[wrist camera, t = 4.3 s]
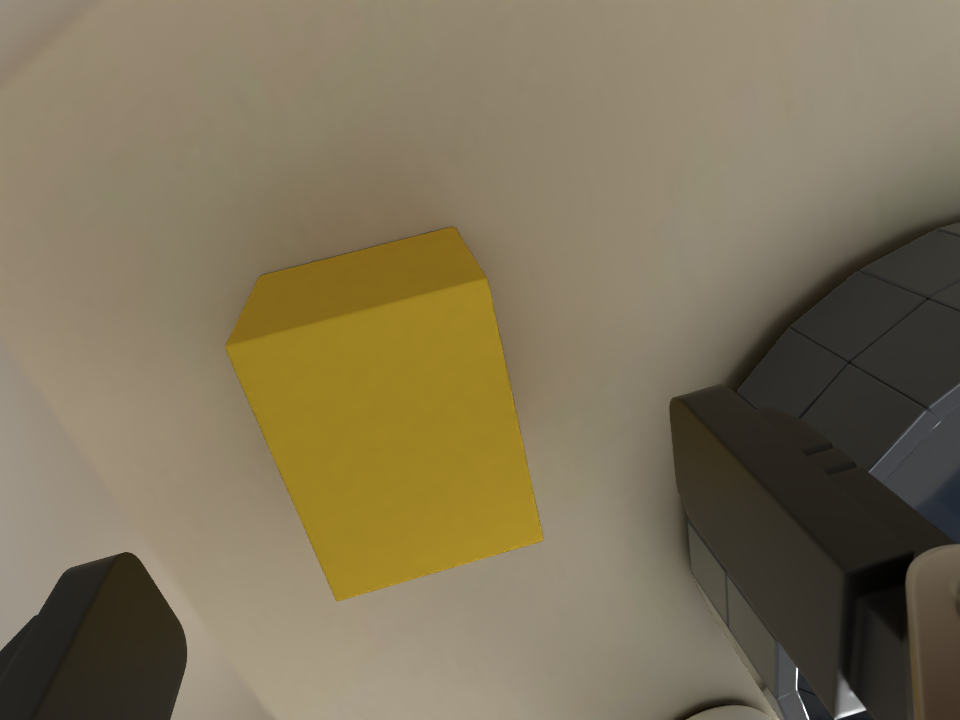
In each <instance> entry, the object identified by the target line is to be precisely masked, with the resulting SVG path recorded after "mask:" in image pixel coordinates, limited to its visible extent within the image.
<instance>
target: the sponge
mask: <svg viewBox="0 0 960 720" xmlns="http://www.w3.org/2000/svg"><path fill="white" fill-rule="evenodd" d="M225 349H226V352H227V354H228V356H229V358H230V361H231V363H232V365H233V367H234V370H235V372H236V374H237V377H238V379H239V381H240V383H241V386H242V388H243V390H244V392H245V395H246V397H247V399H248V402H249V404H250V406H251V408H252V411H253V413H254V415H255V417H256V420H257V422H258V424H259V427H260V429H261V431H262V433H263V436H264V438H265V440H266V442H267V445H268V447H269V449H270V452H271V454H272V456H273V458H274V461H275V463H276V465H277V467H278V470H279V472H280V474H281V476H282V479H283V481H284V483H285V486H286V488H287V490H288V492H289V495H290V497H291V499H292V501H293V504H294V506H295V508H296V511H297V513H298V515H299V517H300V520H301V522H302V524H303V526H304V529H305V531H306V533H307V536H308V538H309V540H310V542H311V545H312V547H313V549H314V551H315V554H316V556H317V558H318V561H319V563H320V565H321V567H322V570H323V572H324V574H325V576H326V579H327V581H328V583H329V586H330V588H331V590H332V592H333V595H334V597H335V599H336V601H340V600H344V599H347V598H351V597H354V596H357V595H361V594H364V593H368V592H371V591H374V590H378V589H381V588H385V587H388V586H391V585H395V584H398V583H402V582H405V581H408V580H412V579H415V578H419V577H422V576H426V575H429V574H432V573H436V572H439V571H443V570H446V569H449V568H453V567H456V566H460V565H463V564H466V563H470V562H473V561H477V560H480V559H483V558H487V557H490V556H494V555H497V554H500V553H504V552H507V551H511V550H514V549H517V548H521V547H524V546H528V545H531V544H535V543H538V542H541V541H543V534H542V530H541V525H540V520H539V516H538V511H537V506H536V502H535V497H534V492H533V488H532V483H531V478H530V474H529V469H528V464H527V460H526V455H525V451H524V446H523V441H522V437H521V432H520V427H519V423H518V418H517V413H516V409H515V404H514V399H513V395H512V390H511V385H510V381H509V376H508V371H507V367H506V362H505V357H504V353H503V348H502V344H501V339H500V334H499V330H498V325H497V320H496V316H495V311H494V306H493V302H492V297H491V292H490V288H489V283H488V279H487V277H486V276H485V274H484V273H483V271H482V270H481V268H480V266H479V265H478V263H477V262H476V260H475V258H474V257H473V255H472V254H471V252H470V250H469V249H468V247H467V246H466V244H465V242H464V241H463V239H462V238H461V236H460V234H459V233H458V231H457V230H456V228H455V227H449V228H445V229H441V230H438V231H434V232H430V233H426V234H422V235H418V236H414V237H410V238H406V239H402V240H398V241H394V242H391V243H387V244H383V245H379V246H375V247H371V248H367V249H363V250H359V251H355V252H351V253H347V254H344V255H340V256H336V257H332V258H328V259H324V260H320V261H316V262H312V263H308V264H304V265H300V266H297V267H293V268H289V269H285V270H281V271H277V272H273V273H269V274H265V275H261V276H259V278H258V280H257V282H256V284H255V286H254V288H253V290H252V292H251V294H250V296H249V298H248V301H247V303H246V305H245V307H244V309H243V311H242V313H241V315H240V317H239V319H238V321H237V323H236V325H235V327H234V329H233V331H232V333H231V335H230V337H229V339H228V341H227V343H226V345H225Z"/></svg>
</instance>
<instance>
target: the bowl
mask: <svg viewBox="0 0 960 720" xmlns="http://www.w3.org/2000/svg"><path fill="white" fill-rule="evenodd" d="M736 394H737V395H738V396H739V397H740V398H741V399H742V400H744V401H745V402H746V403H747V404H748V405H749V406H750V407H751V408H753V409H754V410H758V409H761V408H765V407H768V406H769V407H771V408H774V409H776V410H779V411H781V412H784V413H786V414H789V415H791V416H794V417H796V418H799V419H801V420H804V421H806V422H807V423H808V424H809V425H811V426H812V427H813V428H814V429H815V430H817V431H818V432H819V433H820V434H822V435H823V436H824V437H825V438H827V439H828V440H829V441H830V442H832V446H833V447H834V448H836V447H838V448H839V449H840V450H842V451H843V452H844V453H845V454H847V455H848V456H849V457H850V458H851V459H853V460H854V461H855V464H856V466H857V467H860V466H861V467H863V468H864V469H865V470H866V471H868V472H869V473H870V474H871V475H873V476H874V477H875V478H876V479H878V480H879V481H880V482H881V483H883V484H884V485H885V486H886V487H887V488H889V489H890V490H891V491H892V492H894V493H895V494H896V495H897V496H899V497H900V498H901V499H902V500H904V501H905V502H906V503H907V504H909V505H910V506H911V507H912V508H914V509H915V510H916V511H917V512H919V513H920V514H921V515H922V516H923V517H925V518H926V519H927V520H928V521H930V522H931V523H932V524H933V525H935V526H936V527H937V528H938V529H940V530H941V531H942V532H943V533H945V534H946V535H947V536H948V537H950V538H951V539H952V540H953V541H955V542H956V543H957V544H960V222H958V223H955V224H951V225H947V226H944V227H940V228H937V229H935V230H934V231H930V232H928V233H926V234H925V235H923V236H921V237H919V238H917V239H915V240H913V241H911V242H910V243H908V244H906V245H904V246H902V247H900V248H898V249H897V250H895V251H893V252H891V253H889V254H887V255H885V256H883V257H882V258H880V259H878V260H876V261H874V262H872V263H870V264H868V265H867V266H865V267H863V268H861V269H860V270H859V271H856V272H854V273H853V274H852V275H851V276H849V277H848V278H847V279H846V280H845V281H843V282H842V283H841V284H840V285H839V286H837V287H836V288H835V289H834V290H832V291H831V292H830V293H829V294H828V295H826V296H825V297H824V298H823V299H822V300H820V301H819V302H818V303H817V304H816V305H814V306H813V307H812V308H811V309H809V310H808V311H807V312H806V313H805V314H803V315H802V316H801V317H800V318H799V319H797V320H796V321H795V322H794V323H792V324H791V325H790V328H787V329H786V331H785V332H784V333H783V334H782V335H781V337H780V338H779V339H778V340H777V342H776V343H775V344H774V345H773V346H772V348H771V349H770V350H769V351H768V353H767V354H766V355H765V356H764V357H763V359H762V360H761V361H760V362H759V363H758V365H757V366H756V367H755V368H754V370H753V371H752V372H751V373H750V374H749V376H748V377H747V378H746V379H745V381H744V382H743V383H742V384H741V385H740V387H739V388H738V389H737V393H736ZM687 522H688V535H689V548H690V561H691V571H692V572H691V573H692V575H693V578H694V580H695V582H696V584H697V586H698V588H699V590H700V592H701V594H702V596H703V599H704V601H705V603H706V605H707V607H708V609H709V611H710V613H711V615H712V616H713V618H714V619H715V621H716V622H717V624H718V625H719V627H720V628H721V630H722V631H723V633H724V635H725V636H726V638H727V639H728V641H729V642H730V644H731V645H732V647H733V648H734V650H735V651H736V653H737V654H738V656H739V658H740V659H741V661H742V662H743V664H744V665H745V667H746V668H747V669H748V671H749V673H750V674H751V676H752V677H753V679H754V680H755V682H756V684H757V685H758V687H759V688H760V690H761V691H762V693H763V694H764V696H765V697H766V699H767V700H768V702H769V703H770V705H771V707H772V708H773V710H774V711H775V713H776V714H777V716H778V717H779V719H780V720H834V719H833V717H832V716H831V714H830V713H829V712H828V710H827V709H826V707H825V706H824V705H823V703H822V702H821V700H820V699H819V698H818V696H817V695H816V694H815V692H814V691H813V689H812V688H811V687H810V685H809V684H808V682H807V681H806V680H805V678H804V677H803V675H802V674H801V673H800V671H799V670H798V668H797V667H796V666H795V664H794V663H793V661H792V660H791V659H790V657H789V656H788V655H787V653H786V652H785V650H784V649H783V648H782V646H781V645H780V643H779V642H778V641H777V639H776V638H775V636H774V635H773V634H772V632H771V631H770V629H769V628H768V627H767V625H766V624H765V623H764V621H763V620H762V618H761V617H760V616H759V614H758V613H757V611H756V610H755V609H754V607H753V606H752V604H751V603H750V602H749V600H748V599H747V597H746V596H745V595H744V593H743V592H742V590H741V589H740V588H739V586H738V585H737V584H736V582H735V581H734V579H733V578H732V577H731V575H730V574H729V572H728V571H727V570H726V568H725V567H724V565H723V564H722V563H721V561H720V560H719V558H718V557H717V556H716V554H715V553H714V551H713V550H712V549H711V547H710V546H709V545H708V543H707V542H706V540H705V539H704V538H703V536H702V535H701V533H700V532H699V531H698V529H697V528H696V526H695V525H694V524H693V522H692V521H691V519H690V518H689V516H688V521H687ZM836 720H874V719H873V717H872V716H871V715H870V713H869V712H868V711H867V710H864V711H861V712H858V713H855V714H852V715H849V716H846V717H842V718H839V719H836Z"/></svg>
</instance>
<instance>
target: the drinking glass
mask: <svg viewBox="0 0 960 720" xmlns="http://www.w3.org/2000/svg"><path fill="white" fill-rule="evenodd" d="M686 720H773V719H772V718H771V717H769V716H768V715H767V714H765V713H764V712H762V711H760V710H758V709H755V708H752V707H748V706H741V705H728V706H720V707H716V708H712V709H708V710H705V711H703V712H700V713H698V714H695V715H693V716H691V717H690V718H688V719H686Z"/></svg>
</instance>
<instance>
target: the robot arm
mask: <svg viewBox="0 0 960 720" xmlns="http://www.w3.org/2000/svg"><path fill="white" fill-rule="evenodd" d="M669 410H670V422H671V433H672V444H673V454H674V465H675V475H676V483H677V488H678V492H679V495H680V498H681V501H682V503H683V506H684V508H685V510H686V512H687V514H688V516H689V518H690V519H691V521H692V522H693V524H694V525H695V526H696V528H697V529H698V531H699V532H700V533H701V535H702V536H703V538H704V539H705V540H706V542H707V543H708V545H709V546H710V547H711V549H712V550H713V551H714V553H715V554H716V556H717V557H718V558H719V560H720V561H721V563H722V564H723V565H724V567H725V568H726V570H727V571H728V572H729V574H730V575H731V577H732V578H733V579H734V581H735V582H736V584H737V585H738V586H739V588H740V589H741V590H742V592H743V593H744V595H745V596H746V597H747V599H748V600H749V602H750V603H751V604H752V606H753V607H754V609H755V610H756V611H757V613H758V614H759V616H760V617H761V618H762V620H763V621H764V623H765V624H766V625H767V627H768V628H769V629H770V631H771V632H772V634H773V635H774V636H775V638H776V639H777V641H778V642H779V643H780V645H781V646H782V648H783V649H784V650H785V652H786V653H787V655H788V656H789V657H790V659H791V660H792V661H793V663H794V664H795V666H796V667H797V668H798V670H799V671H800V673H801V674H802V675H803V677H804V678H805V680H806V681H807V682H808V684H809V685H810V687H811V688H812V689H813V691H814V692H815V694H816V695H817V696H818V698H819V699H820V700H821V702H822V703H823V705H824V706H825V707H826V709H827V710H828V712H829V713H830V714H831V716H832V717H833V719H834V720H836V719H839V718H842V717H846V716H849V715H852V714H855V713H858V712H861V711H864V710H867V711H868V712H869V713H870V715H871V716H872V717H873V719H874V720H960V544H957V543H956V542H955V541H953V540H952V539H951V538H950V537H948V536H947V535H946V534H945V533H943V532H942V531H941V530H940V529H938V528H937V527H936V526H935V525H933V524H932V523H931V522H930V521H928V520H927V519H926V518H925V517H923V516H922V515H921V514H920V513H919V512H917V511H916V510H915V509H914V508H912V507H911V506H910V505H909V504H907V503H906V502H905V501H904V500H902V499H901V498H900V497H899V496H897V495H896V494H895V493H894V492H892V491H891V490H890V489H889V488H887V487H886V486H885V485H884V484H883V483H881V482H880V481H879V480H878V479H876V478H875V477H874V476H873V475H871V474H870V473H869V472H868V471H866V470H865V469H864V468H863V467H861V466H860V467H857V466H856V464H855V461H854V460H853V459H851V458H850V457H849V456H848V455H847V454H845V453H844V452H843V451H842V450H840V449H839V448H838V447H836V448H834V447H833V446H832V442H830V441H829V440H828V439H827V438H825V437H824V436H823V435H822V434H820V433H819V432H818V431H817V430H815V429H814V428H813V427H812V426H811V425H809V424H808V423H807V422H806V421H804V420H801V419H799V418H796V417H794V416H791V415H789V414H786V413H784V412H781V411H779V410H776V409H774V408H771V407H769V406H768V407H765V408H761V409H758V410H754V409H753V408H751V407H750V406H749V405H748V404H747V403H746V402H745V401H744V400H742V399H741V398H740V397H739V396H738V395H737V394H736V393H734V392H733V391H732V390H731V389H730V388H729V387H727V386H726V385H723V384H720V385H716V386H713V387H709V388H706V389H702V390H699V391H695V392H692V393H688V394H685V395H681V396H678V397H674V398H672V399H671V402H670V408H669ZM186 662H187V645H186V638H185V634H184V630H183V628H182V625H181V624H180V622H179V620H178V618H177V617H176V615H175V614H174V612H173V611H172V609H171V608H170V606H169V604H168V603H167V601H166V600H165V598H164V597H163V595H162V594H161V592H160V590H159V589H158V587H157V586H156V584H155V583H154V581H153V579H152V578H151V576H150V575H149V573H148V572H147V570H146V569H145V567H144V565H143V564H142V562H141V561H140V560H139V559H138V558H137V557H136V556H135V555H133V554H132V553H128V552H124V553H121V554H117V555H114V556H110V557H107V558H103V559H99V560H96V561H92V562H89V563H85V564H82V565H79V566H75V567H71V568H70V569H68V570H66V571H65V572H64V573H63V575H62V576H61V577H60V579H59V580H58V582H57V584H56V585H55V587H54V589H53V590H52V592H51V594H50V596H49V597H48V599H47V600H46V602H45V604H44V605H43V607H42V609H41V611H40V612H39V614H38V615H36V616H34V617H33V618H32V619H31V620H30V621H29V622H28V623H27V624H26V625H25V626H24V627H23V628H22V629H21V631H19V632H18V633H17V635H16V636H15V637H14V638H13V639H12V640H11V641H10V642H9V643H8V644H7V645H6V646H5V647H4V648H3V649H2V650H1V651H0V720H170V718H171V715H172V712H173V708H174V705H175V702H176V698H177V695H178V692H179V688H180V685H181V681H182V678H183V675H184V671H185V668H186Z"/></svg>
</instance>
